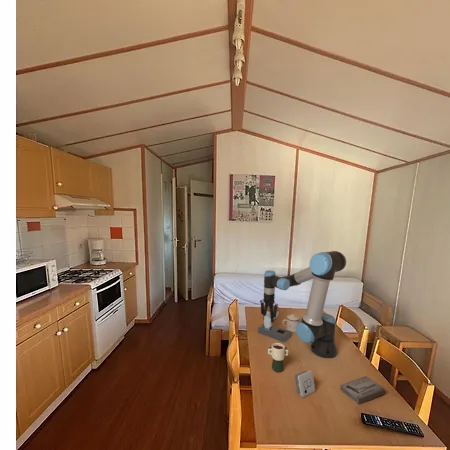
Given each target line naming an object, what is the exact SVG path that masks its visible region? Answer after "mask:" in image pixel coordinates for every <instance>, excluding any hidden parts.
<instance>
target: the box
mask: <svg viewBox="0 0 450 450" xmlns="http://www.w3.org/2000/svg"><path fill="white" fill-rule="evenodd" d="M340 391H342V393H344V394H345V395H347V397H348V398H350V399H351V400H352V401H354V402H355V403H356V404H357V405H362V404H364V403H366V402H368V401H372V400H373V399H376V398H378V397H381V396H383V395H385V394H386V392H385V391H386V389H385V388H384V387H382V386H381V385H379V384H378V383H377V382H375V381H374V380H372V379H371V378H369V377H368V376H362V377H359V378H356V379H355V380H351V381H348V382H346V383H343V384H341V385H340Z"/></svg>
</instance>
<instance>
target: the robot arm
mask: <svg viewBox="0 0 450 450" xmlns="http://www.w3.org/2000/svg"><path fill="white" fill-rule="evenodd" d="M346 265H347V258H346V256H345V255H344V254H343V253H342V252H340V251H336V250H331V251H323V252H322V251H321V252H317V253H315V254H313V255H312V256H311V257H310V259H309V266H308V267H306V268H303V269H301V270H299V271H297V272H294V273H293V274H288V275H284V276H278V275H276V271H274V270H271V269H270V270H265V271H264V275H263V278H264V279H263V299H260V301H259V302H260V314H261V315H262V316H263V318H262V319H263V324H264V325H265V316H266V313H267V308H268V306H269V308H270V316H271V317H270V323H269V327H271V326H272V325H273V322H274V320H273V319H274V318H275V317H276V314H277V306H278V307H279V304H278V303H276V302H275V297H276V296H275V295H276V294H275V292H276V291H275V290H276V288H277V289H278V290H281V291H287V290H289V288H291V287H296V286H299V285H301V284H302V283H303V284H304V283H305V282H308V281H310V280H312V283H311V289H310V292H309V297H308V300H307V301H308V302H307V305H306V311H305V313H303V314H302V316H301V320H300V321H299V323H298V324H297V325H296V332H295V333H296V335H297V337H298V338H299V339H300V341H302V342H303V343H305V344H310V351H311V353H313V354H314V355H316V356H318V357H320V358H324V359H325V358H326V359H330V358H331V359H333V358H335V357H336V356H337V355H338V349H337V346H336V342H335V334H336V333H335V332H336V318H335V316H333V315H332V314H329V313H327V312H324V307H325V304H326V299H327V295H328V291H329V287H330V282H331V281H333V280H334V278H335V273H337V272H341V271H342V270H344V269H345V268H346ZM264 305H265V308H264ZM273 305H274V312H273Z"/></svg>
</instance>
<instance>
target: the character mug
mask: <svg viewBox="0 0 450 450" xmlns="http://www.w3.org/2000/svg"><path fill="white" fill-rule="evenodd" d="M271 346H272V349H269V348H267V354H268V355H270V356H271V359H272V363H271V368H272V370H273V371H275V372H276V373H277V372H278V373H280V372H282V371H283V370H284V359H285V356H286V357H288V355H289V350H288V349H286V350H285V347H286V346H285V344H283V343H281V342H274V343H272V344H271ZM271 351H272V352H271Z"/></svg>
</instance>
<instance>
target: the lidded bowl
mask: <svg viewBox="0 0 450 450" xmlns="http://www.w3.org/2000/svg"><path fill="white" fill-rule="evenodd" d="M264 308H265V304H264ZM273 312H274V304H273ZM266 315H270V308H269V306H268V308H267V313H266ZM279 315H280V307H279V305H278V306H277V314H276V317H275V318H274V319H273V321H276V319H277V318H278V317H279Z"/></svg>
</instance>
